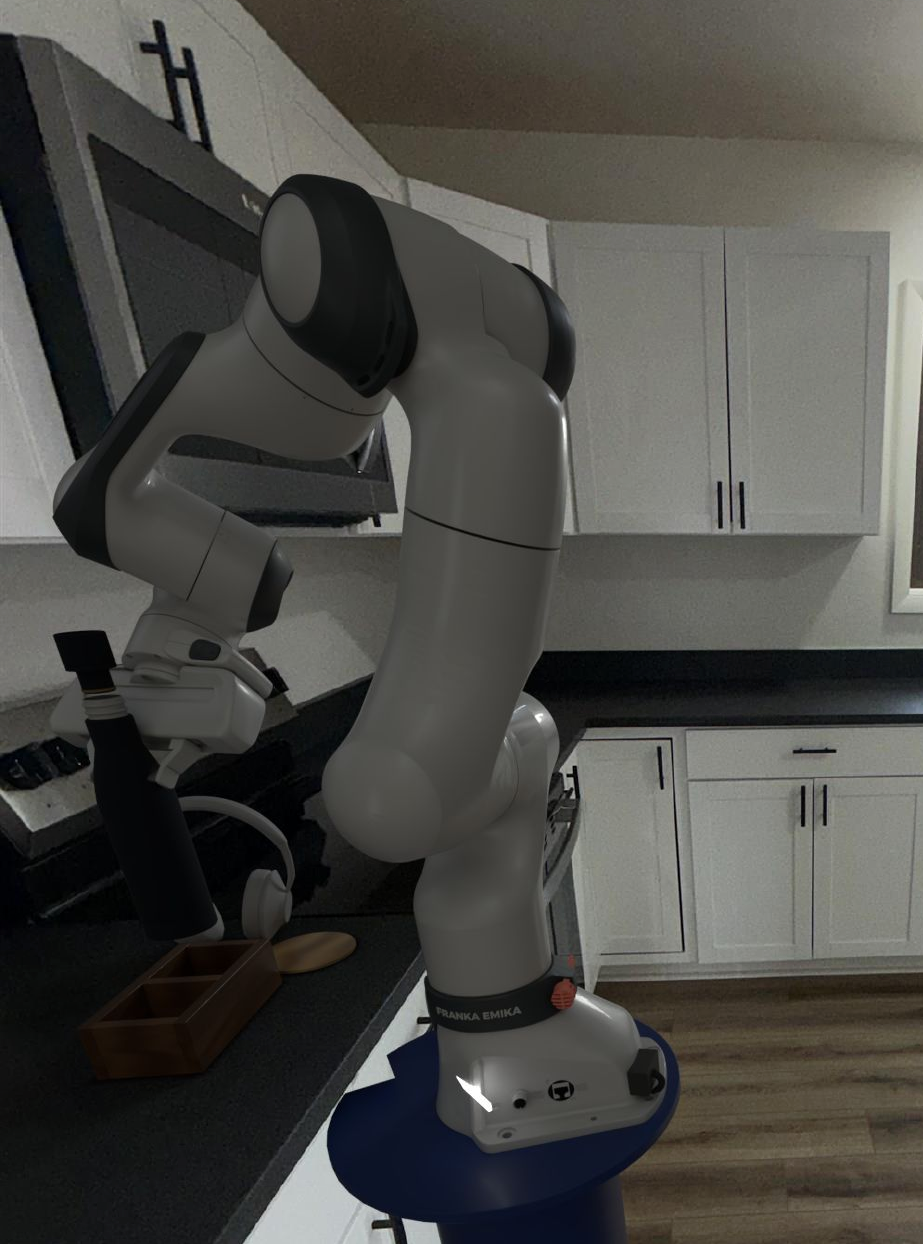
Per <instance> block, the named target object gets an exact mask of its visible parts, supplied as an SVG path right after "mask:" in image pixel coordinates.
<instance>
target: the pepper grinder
mask: <svg viewBox="0 0 923 1244" xmlns="http://www.w3.org/2000/svg"><path fill="white" fill-rule="evenodd" d="M52 638H53V641H54V643H55V646H56V649H57V651H58V654H59V657H60V660H61V662H62V665H63V668H64V671H65V672H68V673H75V675H76V677H78V680H79V683H80V686H81V691H82V692H83V693H84V694H101V693H108V692H113V691H115V690H116V689H117V688H116V686H115V685H114V682H113V679H112V676H111V673H110V670H109V669H111V668H115V667H117V664H118V663H117V662H116V659H115V655H114V652H113V649H112V647H111V644H110V640H109V638H108V634H107V632H106V631H105V630H102V629H86V630H83V629H82V630H72V631H62V632H57V633H53V634H52ZM82 701H83V704H82V706H83V707H85V709H86V711H85V712H84V713H85V714H86V715H88V718H87V719H86V720H85V724H86V726H87V729H88V732H89V735H90V737H91V740H92V743H93V746H94V767H93V780H94V784H93V789H94V795H95V796H94V797H95V802H96V805H97V808H98V810H99V811H98V812H99V813H100V816H101V819H102V821H103V824H104V827H105V829H106V832H107V834H108V837H109V840H110V843H111V845H112V848H113V851H114V853H115V856H116V859H117V862H118V864H119V868H120V870H121V873H122V872H123V873H122V876H123V875H124V876H123V878H124V880H125V884H126V885H127V888H128V891H129V894H130V897H131V900H132V901H133V905H134V907H135V910H136V913H137V916H138V918H139V920H140V923H141V926H142V929H143V931H144V934H145V936H146V938H147V939H149V940H152V941H154V942H155V941H156V942H167V941H174V940H177V939H183V938H187V937H191V936H194V935H197V934H200V933H202V932H205V931H206V930H208V929H210V928H212V927H213V926H214V925H215V924H217V921H218V917H217V914H216V911H215V908H214V905H215V904H214V905H213V903H214V902H213V900H212V896H211V893H210V890H209V887H208V885H207V881H206V878H205V876H204V872H203V870H202V866H201V864H200V859H199V857H198V854H197V851H196V848H195V846H194V845H195V844H194V842H193V838H192V836H191V833H190V830H189V827H188V823H187V821H186V818H185V814H184V811H183V812H182V809H181V806H180V802H179V799H178V798H179V797H178V794H177V791H176V789H175V787H174V788H172V789H166V788H158V787H156V786H154V785H152V784H150V783H148V781H147V776H148V775H149V774H150V769H151V767H152V765H160V764H161V763H160V762H159V761H158V760H157V759H156V758H155V757H154V755H153V754H152V753H151V750H148V749H147V748H146V746H145V745H144V744H143V742H142V740H141V737H140V734H139V731H138V728H137V725H136V722H135V719H134V716H133V715H132V714H130V713H127V710H128V707H126V706H125V704H124V703H125V702H126V701H125V700H124V699H123V698H122V695H119V694H109V695H98V696H91V697H86V698H83V699H82Z"/></svg>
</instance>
